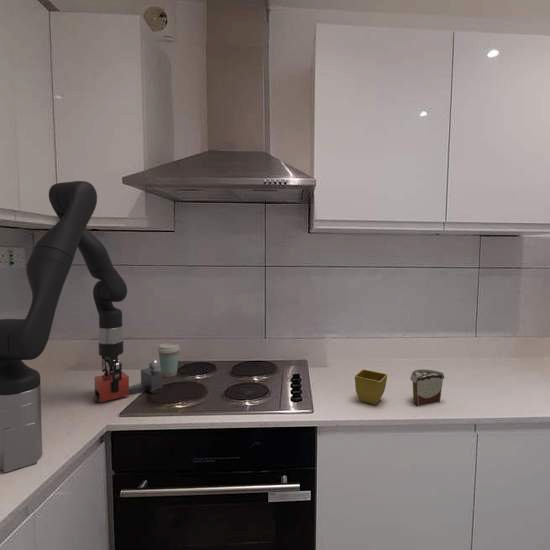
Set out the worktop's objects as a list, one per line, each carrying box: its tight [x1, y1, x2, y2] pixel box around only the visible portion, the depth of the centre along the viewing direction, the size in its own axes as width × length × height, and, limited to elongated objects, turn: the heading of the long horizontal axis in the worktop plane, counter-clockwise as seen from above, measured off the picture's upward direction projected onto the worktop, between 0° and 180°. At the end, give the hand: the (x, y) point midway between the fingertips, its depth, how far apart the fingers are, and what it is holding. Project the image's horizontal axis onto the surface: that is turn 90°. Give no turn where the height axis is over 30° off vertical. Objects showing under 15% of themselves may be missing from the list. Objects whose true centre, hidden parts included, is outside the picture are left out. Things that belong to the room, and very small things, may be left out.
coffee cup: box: [157, 342, 181, 378], centre depth 143 cm, size 8×8×12 cm
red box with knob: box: [94, 370, 130, 403], centre depth 120 cm, size 6×9×7 cm
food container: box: [410, 369, 445, 407], centre depth 121 cm, size 12×6×10 cm, turn 111°
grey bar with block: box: [92, 358, 164, 404], centre depth 123 cm, size 10×22×11 cm, turn 130°
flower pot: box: [354, 369, 388, 405], centre depth 120 cm, size 9×9×9 cm
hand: (111, 388), depth 120 cm, fingers closed on red box with knob, 6 cm apart
